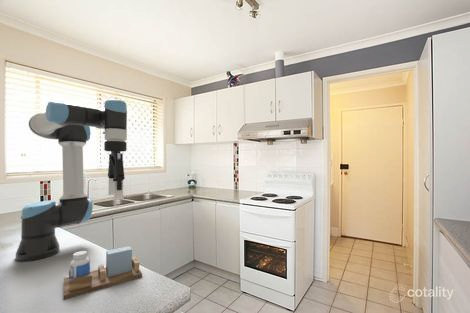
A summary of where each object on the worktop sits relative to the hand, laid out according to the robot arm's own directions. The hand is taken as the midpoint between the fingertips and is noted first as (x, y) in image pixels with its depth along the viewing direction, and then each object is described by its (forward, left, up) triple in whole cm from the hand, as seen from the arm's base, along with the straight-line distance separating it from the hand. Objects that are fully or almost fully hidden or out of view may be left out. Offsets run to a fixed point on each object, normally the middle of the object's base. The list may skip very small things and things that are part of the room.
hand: (115, 197), depth 87 cm
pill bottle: (+2, -11, -28) cm, 30 cm away
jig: (+2, -4, -29) cm, 29 cm away
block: (+2, +1, -28) cm, 28 cm away
